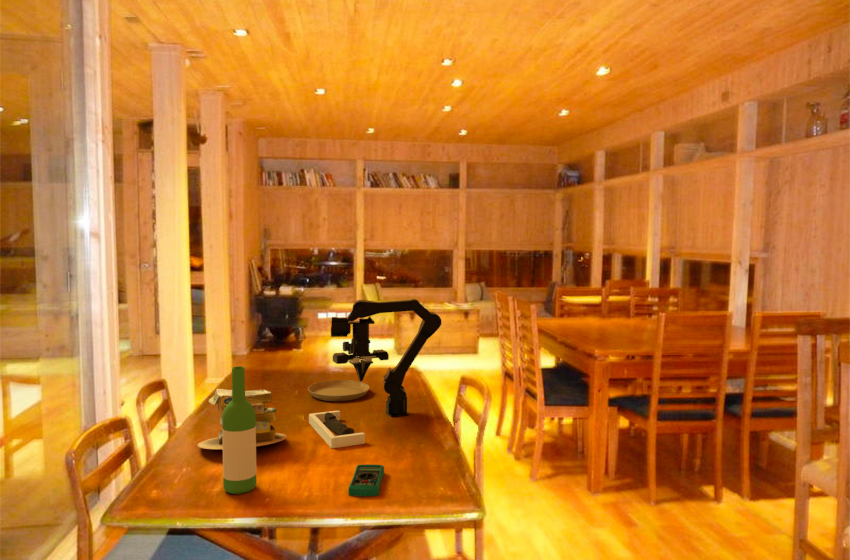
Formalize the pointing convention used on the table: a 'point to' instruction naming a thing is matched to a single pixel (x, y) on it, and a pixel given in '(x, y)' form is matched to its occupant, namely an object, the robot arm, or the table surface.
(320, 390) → the plant saucer
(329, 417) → the hand tool
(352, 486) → the digital multimeter
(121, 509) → the table surface
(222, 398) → the plate of stacked boxes
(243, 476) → the wine bottle
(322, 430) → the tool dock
